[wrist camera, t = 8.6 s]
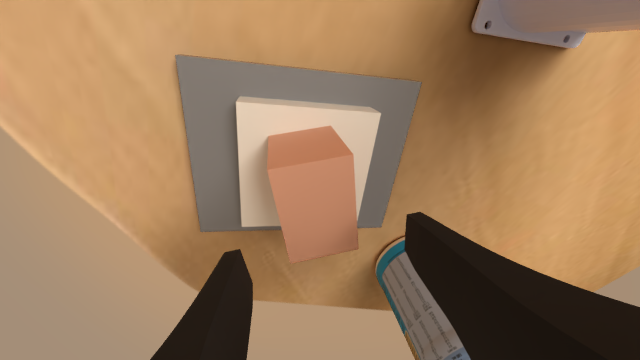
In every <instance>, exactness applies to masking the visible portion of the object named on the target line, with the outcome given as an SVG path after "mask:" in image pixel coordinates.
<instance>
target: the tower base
mask: <svg viewBox="0 0 640 360" xmlns="http://www.w3.org/2000/svg"><path fill="white" fill-rule="evenodd" d="M175 56H176V63H177V70H178V77H179V84H180V91H181V98H182V105H183V112H184V119H185V126H186V133H187V140H188V147H189V154H190V161H191V168H192V175H193V182H194V189H195V196H196V203H197V210H198V217H199V224H200V231H201V232H215V231H255V230H282V228H281V224H280V220H279V216H278V212H277V208H276V204H275V200H274V196H273V192H272V188H271V184H270V180H269V176H268V172H267V159H268V136H270V135H276V134H282V133H288V132H294V131H300V130H306V129H312V128H318V127H324V126H330V125H331V126H332V128H333V129H334V130H335V132H336V133H337V134H338V135H339V137H340V138H341V139H342V140H343V142H344V143H345V144H346V146H347V147H348V148H349V149H350V151H351V152H352V153H353V155H354V174H355V193H356V212H357V228H376V227H382V223H383V219H384V216H385V212H386V209H387V205H388V201H389V198H390V194H391V191H392V187H393V184H394V180H395V176H396V173H397V169H398V166H399V162H400V159H401V155H402V151H403V148H404V144H405V141H406V137H407V134H408V130H409V126H410V123H411V119H412V116H413V112H414V109H415V105H416V101H417V98H418V94H419V91H420V87H421V84H422V82H419V81H413V80H404V79H395V78H386V77H377V76H368V75H359V74H350V73H341V72H332V71H323V70H314V69H305V68H296V67H287V66H278V65H269V64H260V63H252V62H243V61H234V60H225V59H216V58H207V57H198V56H189V55H175Z"/></svg>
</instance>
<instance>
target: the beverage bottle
mask: <svg viewBox="0 0 640 360" xmlns="http://www.w3.org/2000/svg"><path fill="white" fill-rule="evenodd" d="M404 245H405V237H402V238H400V239H398V240H396V241H395V242H393V243H392V244H390V245H389V246H388V247H387V248H386V249H385V250H384V251H383V252H382V253H381V255H380V256H379V258H378V260H377V263H376V269H375V271H376V277H377V279H378V281H379V283H380V285H381V287H382V289H383V290H384V293H385V295H386V297H387V299H388V301H389V303H390V305H391V308H392V310H393V312H394V314H395V316H396V318H397V321H398V323H399V325H400V327H401V329H402V331H403V334H404V336H405V338H406V340H407V342H408V345H409V347H410V349H411V351H412V354H413V356H414V358H415V360H471V359H470V357H469V355H468V354H467V352H466V350H465V348H464V346H463V345H462V343H461V341H460V339H459V337H458V336H457V334H456V332H455V330H454V328H453V327H452V325H451V324H450V322H449V320H448V319H447V317H446V316H445V314H444V313H443V311H442V310H441V308H440V307H439V305H438V304H437V302H436V301H435V300H434V298H433V297H432V295H431V294H430V292H429V291H428V289H427V288H426V286H425V285H424V283H423V282H422V280H421V279H420V277H419V276H418V274H417V273H416V271H415V269H414V267H413V266H412V264H411V262H410V260H409V258H408V256H407V254H406V252H405V250H404Z"/></svg>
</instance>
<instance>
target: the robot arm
mask: <svg viewBox="0 0 640 360" xmlns="http://www.w3.org/2000/svg"><path fill="white" fill-rule="evenodd" d="M486 22H487V27H486V29H485V23H486ZM628 30H640V0H480V1H479V4H478V7H477V10H476V13H475V16H474V19H473V22H472V31H473V32H475V33H479V34H485V35H491V36H497V37H503V38H509V39H515V40H522V41H528V42H534V43H540V44H546V45H552V46H558V47H564V48H575V47H577V46H578V45H579V44H580V43H581V41H582V40H583V38H584V36H585V34H586V33H592V32H610V31H628ZM404 250H405V252H406V254H407V256H408V258H409V260H410V262H411V264H412V266H413V267H414V269H415V271H416V273H417V274H418V276H419V277H420V279H421V280H422V282H423V283H424V285H425V286H426V288H427V289H428V291H429V292H430V294H431V295H432V297H433V298H434V300H435V301H436V302H437V304H438V305H439V307H440V308H441V310H442V311H443V313H444V314H445V316H446V317H447V319H448V320H449V322H450V324H451V325H452V327H453V328H454V330H455V332H456V334H457V336H458V337H459V339H460V341H461V343H462V345H463V346H464V348H465V350H466V352H467V354H468V355H469V357H470V359H471V360H640V307H637V306H634V305H630V304H627V303H624V302H621V301H618V300H614V299H611V298H609V297H605V296H602V295H599V294H596V293H593V292H590V291H587V290H584V289H582V288H579V287H576V286H573V285H571V284H568V283H565V282H562V281H560V280H557V279H554V278H552V277H549V276H547V275H544V274H542V273H539V272H537V271H534V270H532V269H530V268H527V267H525V266H523V265H520V264H518V263H516V262H513V261H511V260H509V259H507V258H505V257H503V256H500V255H498V254H496V253H494V252H492V251H490V250H488V249H486V248H484V247H482V246H481V245H479V244H477V243H475V242H473V241H471V240H469V239H467V238H466V237H464V236H462V235H460V234H458V233H457V232H455V231H453V230H451V229H450V228H448V227H446V226H444V225H443V224H441V223H439V222H437V221H436V220H434V219H432V218H430V217H429V216H427V215H425V214H423V213H421V212H417V213H412V214H407V219H406V232H405V245H404ZM252 305H253V283H252V280H251V277H250V275H249V272H248V269H247V267H246V264H245V261H244V259H243V256H242V253H241V251H240V249H239V250H234V251H229V252H225V253H224V254H223V256H222V257H221V259H220V260H219V262H218V264H217V265H216V267H215V269H214V270H213V272H212V274H211V275H210V277H209V278H208V280H207V282H206V283H205V285H204V286H203V288H202V289H201V291H200V292H199V294H198V296H197V297H196V299H195V300H194V302H193V303H192V305H191V306H190V307H189V309H188V310H187V312H186V313H185V315H184V316H183V317H182V319H181V320H180V322H179V323H178V324H177V326H176V327H175V329H174V330H173V331H172V333H171V334H170V335H169V337H168V338H167V339H166V340H165V342H164V343H163V345H162V346H161V347H160V348H159V349H158V351H157V352H156V353H155V354H154V356H153V357H152V358H151V359H150V360H246V358H247V350H248V342H249V334H250V325H251V316H252Z"/></svg>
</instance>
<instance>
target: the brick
mask: <svg viewBox="0 0 640 360" xmlns="http://www.w3.org/2000/svg"><path fill="white" fill-rule="evenodd" d="M267 172H268V176H269V180H270V184H271V188H272V192H273V196H274V200H275V204H276V208H277V212H278V216H279V220H280V224H281V228H282V232H283V236H284V240H285V244H286V248H287V252H288V256H289V260H290V264H292V263H297V262H301V261H306V260H310V259H315V258H319V257H324V256H329V255H333V254H338V253H342V252H347V251H351V250H356V249H358V231H357V212H356V193H355V174H354V155H353V153H352V152H351V151H350V149H349V148H348V147H347V146H346V144H345V143H344V142H343V140H342V139H341V138H340V137H339V135H338V134H337V133H336V132H335V130H334V129H333V128H332V126H331V125H330V126H324V127H318V128H312V129H306V130H300V131H294V132H288V133H282V134H276V135H270V136H268V159H267Z"/></svg>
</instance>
